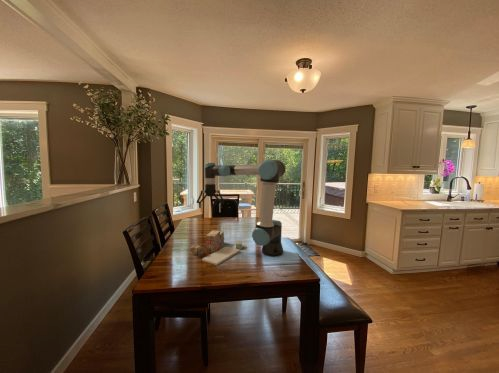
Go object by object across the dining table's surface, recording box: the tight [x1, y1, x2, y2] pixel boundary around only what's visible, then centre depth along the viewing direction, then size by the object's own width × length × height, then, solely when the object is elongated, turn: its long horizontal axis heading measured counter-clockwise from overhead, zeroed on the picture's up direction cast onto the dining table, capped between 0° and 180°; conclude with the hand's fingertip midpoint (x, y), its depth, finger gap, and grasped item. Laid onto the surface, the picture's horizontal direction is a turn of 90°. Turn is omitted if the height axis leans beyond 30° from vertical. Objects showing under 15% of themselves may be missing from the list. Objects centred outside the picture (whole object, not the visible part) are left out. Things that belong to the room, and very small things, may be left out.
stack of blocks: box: [205, 229, 225, 254], centre depth 169 cm, size 21×6×12 cm, turn 169°
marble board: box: [201, 246, 241, 266], centre depth 154 cm, size 12×26×1 cm, turn 149°
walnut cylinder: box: [197, 245, 206, 259], centre depth 153 cm, size 4×4×6 cm
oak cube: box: [189, 244, 201, 256], centre depth 157 cm, size 5×5×5 cm
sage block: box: [235, 240, 243, 250], centre depth 169 cm, size 4×7×4 cm, turn 179°
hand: (210, 212), depth 170 cm, fingers open, 13 cm apart
